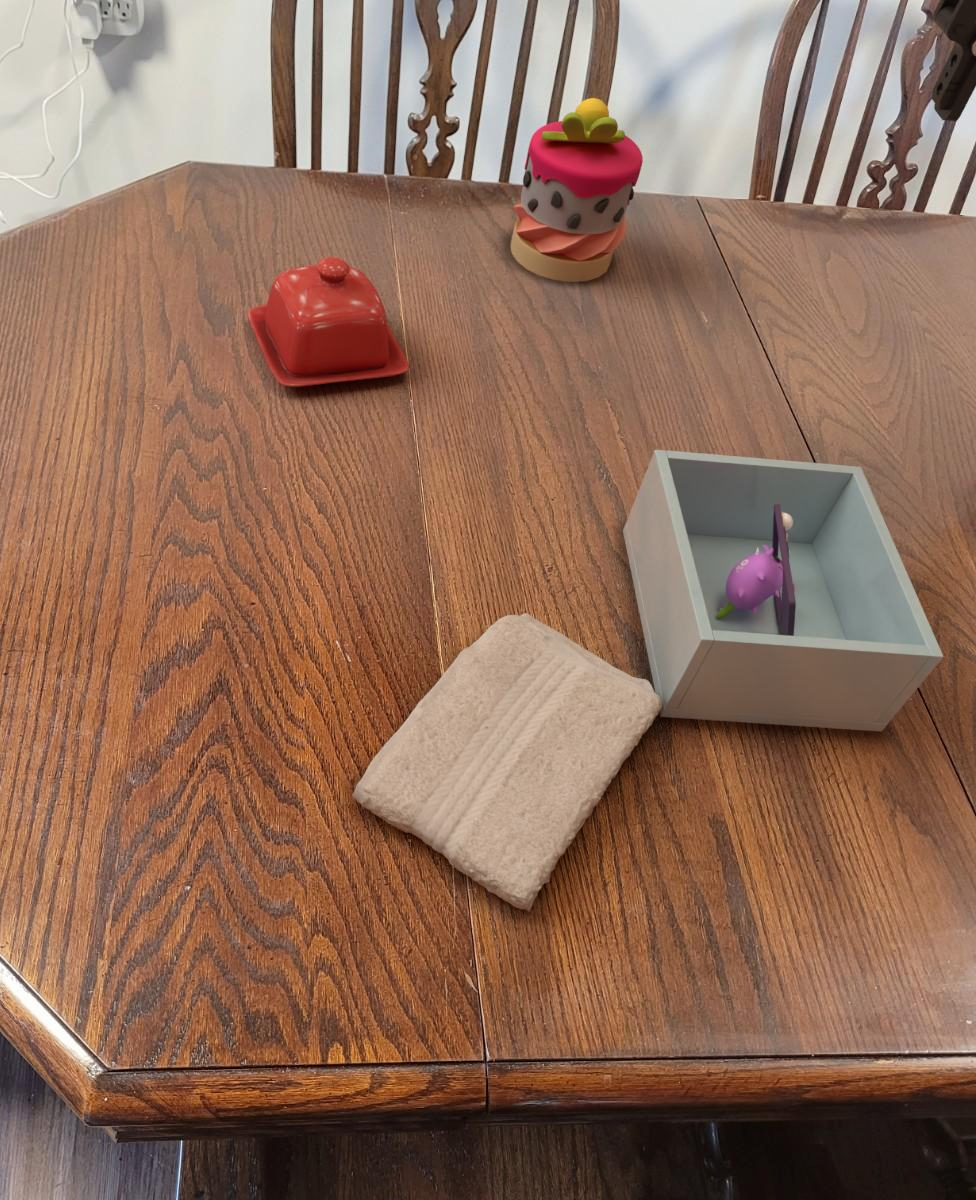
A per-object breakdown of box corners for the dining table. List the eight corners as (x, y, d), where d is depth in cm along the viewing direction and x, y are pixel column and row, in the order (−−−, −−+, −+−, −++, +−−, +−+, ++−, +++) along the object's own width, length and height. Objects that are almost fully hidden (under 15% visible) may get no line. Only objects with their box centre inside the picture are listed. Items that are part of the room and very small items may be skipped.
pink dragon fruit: (809, 601, 63) (791, 501, 69) (718, 606, 65) (709, 507, 71) (803, 670, 68) (787, 571, 74) (719, 673, 70) (710, 575, 75)
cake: (497, 224, 104) (528, 69, 93) (598, 227, 106) (641, 75, 95) (517, 283, 98) (554, 124, 86) (625, 286, 99) (675, 130, 88)
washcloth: (661, 711, 67) (676, 683, 64) (525, 928, 56) (538, 903, 54) (501, 620, 70) (510, 590, 68) (346, 808, 60) (350, 779, 57)
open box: (813, 546, 78) (861, 466, 72) (881, 732, 67) (944, 656, 61) (622, 531, 77) (654, 448, 71) (659, 717, 66) (701, 639, 60)
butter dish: (369, 305, 93) (379, 217, 86) (412, 385, 86) (426, 295, 80) (243, 319, 90) (243, 228, 83) (277, 403, 83) (280, 311, 76)
